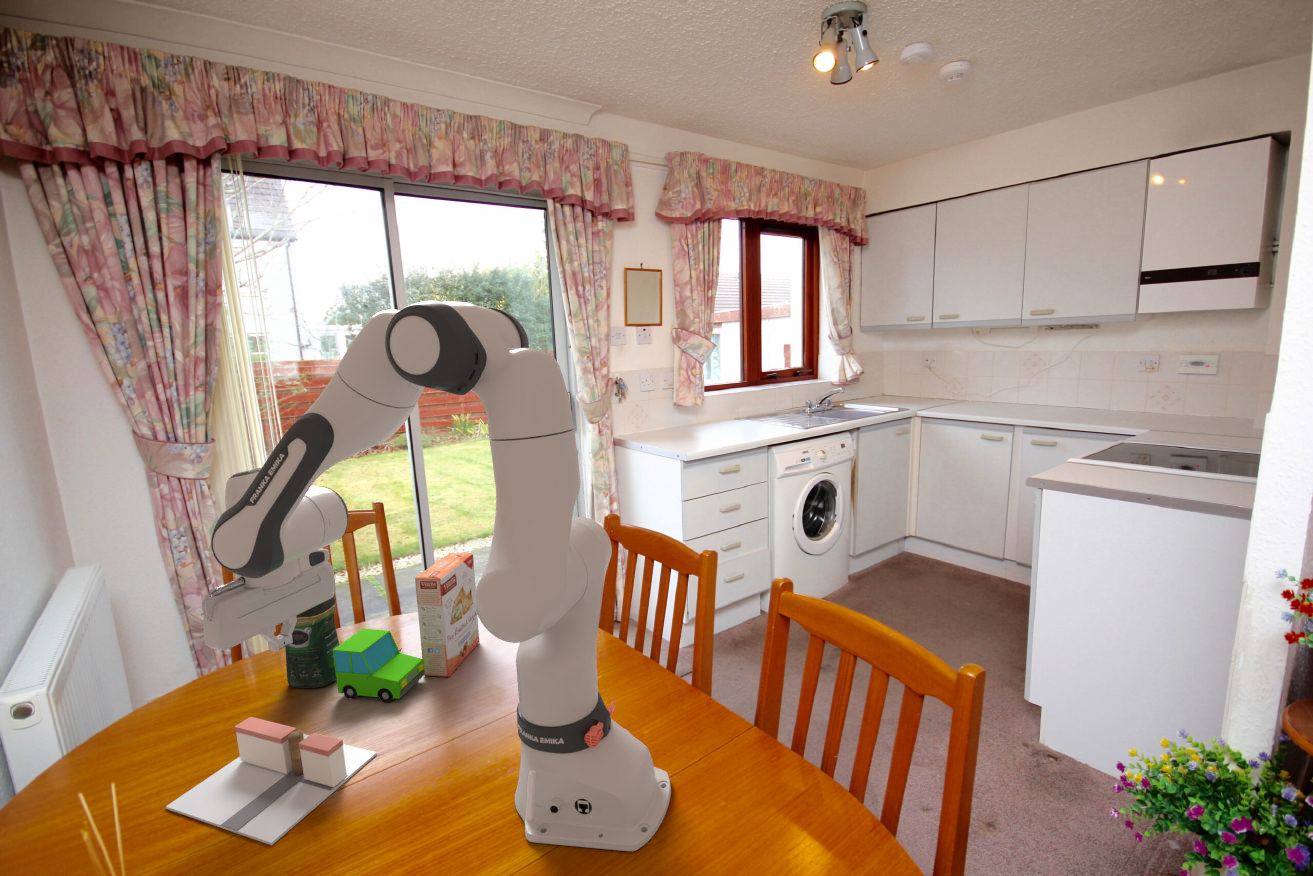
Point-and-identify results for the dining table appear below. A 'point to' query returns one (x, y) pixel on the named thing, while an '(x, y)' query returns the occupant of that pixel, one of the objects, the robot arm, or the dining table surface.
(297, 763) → the hinge post
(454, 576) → the cracker box
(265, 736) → the folding fence panel
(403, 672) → the toy car
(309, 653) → the coffee jar
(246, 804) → the card
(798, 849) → the dining table surface
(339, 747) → the fixed fence panel
